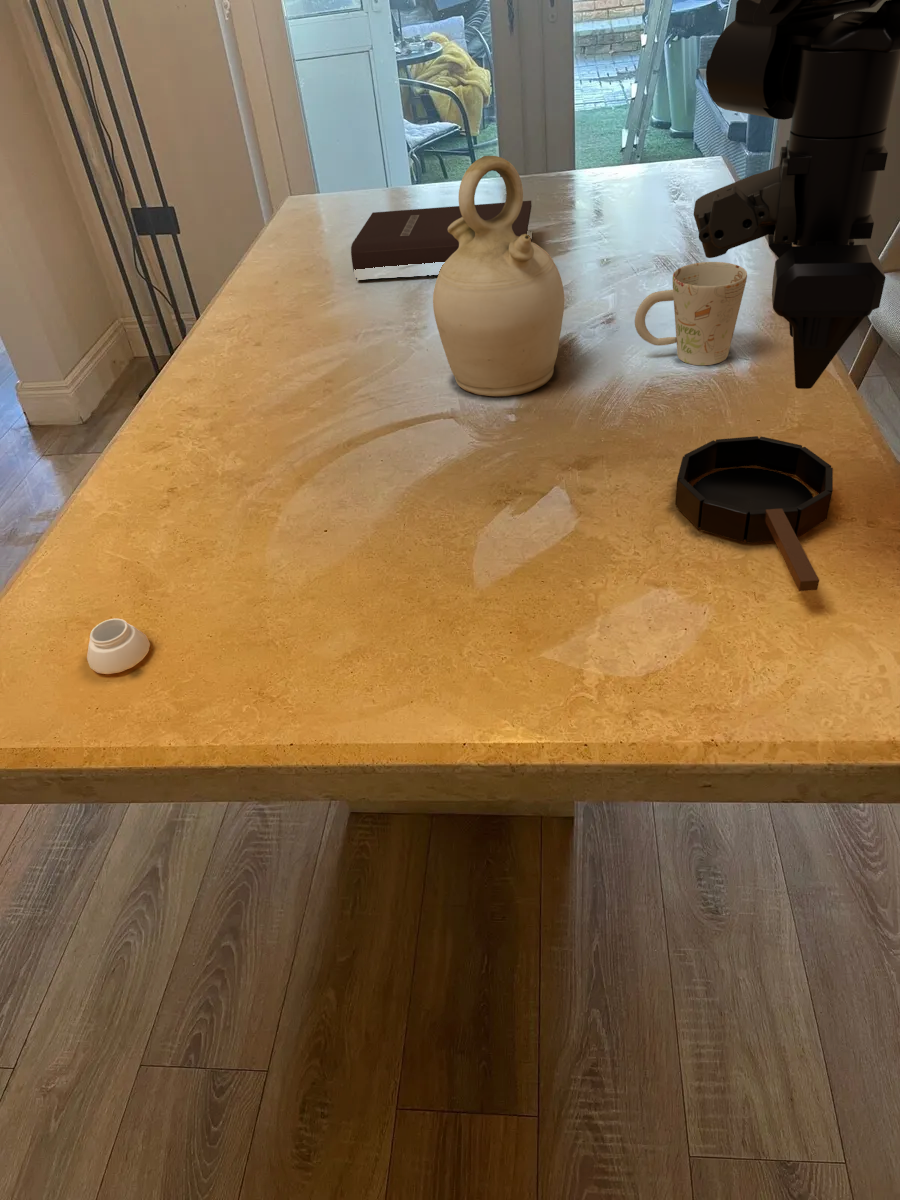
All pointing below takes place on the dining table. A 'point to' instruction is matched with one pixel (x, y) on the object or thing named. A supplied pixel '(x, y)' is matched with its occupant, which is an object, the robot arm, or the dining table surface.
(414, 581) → the dining table surface
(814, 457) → the frying pan
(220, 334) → the dining table surface
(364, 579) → the dining table surface
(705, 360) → the mug
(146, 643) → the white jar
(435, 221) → the book
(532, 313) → the jug
